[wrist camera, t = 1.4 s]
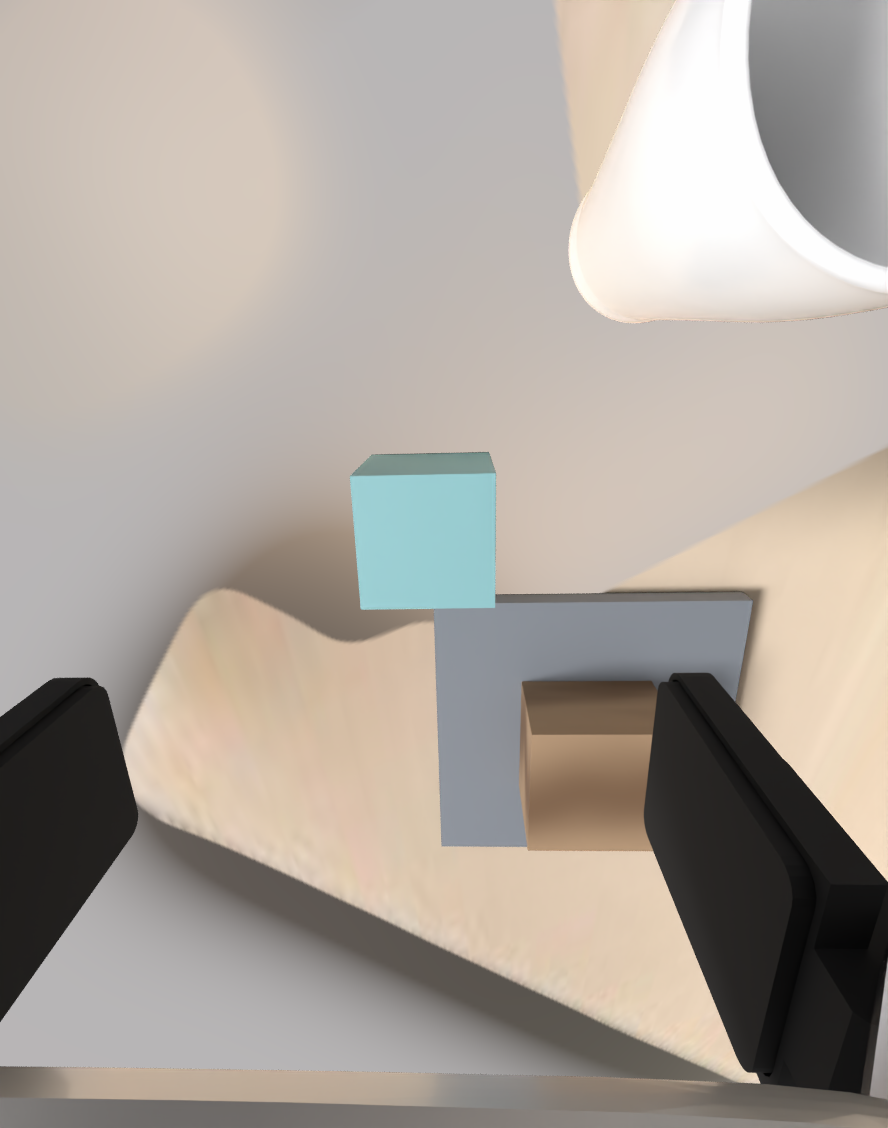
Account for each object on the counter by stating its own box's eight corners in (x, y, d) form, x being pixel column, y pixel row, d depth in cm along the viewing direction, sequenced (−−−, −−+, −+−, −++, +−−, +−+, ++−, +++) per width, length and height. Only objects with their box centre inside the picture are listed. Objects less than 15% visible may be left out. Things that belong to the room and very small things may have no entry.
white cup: (510, 277, 21) (608, 95, 7) (623, 94, 19) (1077, -669, 5) (648, 379, 22) (973, 397, 8) (768, 216, 20) (1476, -134, 6)
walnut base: (521, 681, 26) (531, 735, 22) (651, 680, 26) (684, 734, 22) (518, 785, 28) (527, 850, 24) (639, 785, 28) (667, 851, 24)
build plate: (434, 595, 26) (433, 603, 25) (742, 591, 25) (753, 600, 24) (442, 831, 30) (441, 846, 29) (701, 832, 30) (709, 847, 29)
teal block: (372, 454, 24) (349, 476, 19) (488, 452, 24) (495, 473, 19) (379, 564, 25) (360, 609, 21) (488, 562, 25) (495, 608, 20)
